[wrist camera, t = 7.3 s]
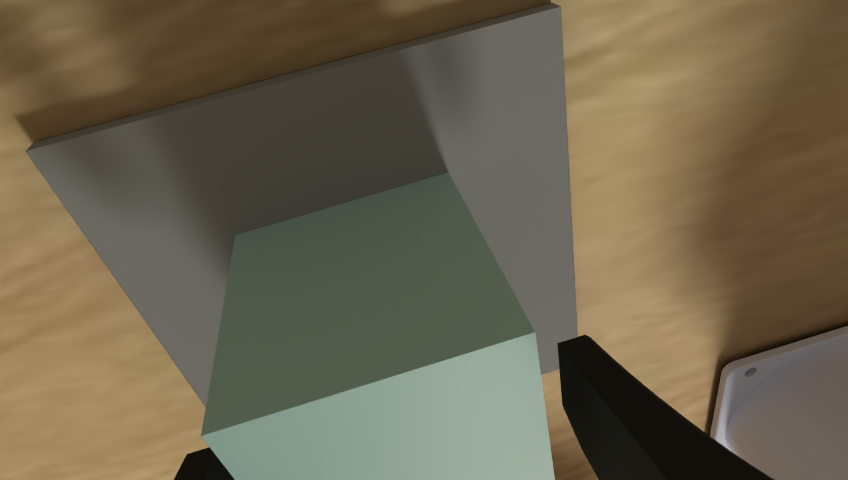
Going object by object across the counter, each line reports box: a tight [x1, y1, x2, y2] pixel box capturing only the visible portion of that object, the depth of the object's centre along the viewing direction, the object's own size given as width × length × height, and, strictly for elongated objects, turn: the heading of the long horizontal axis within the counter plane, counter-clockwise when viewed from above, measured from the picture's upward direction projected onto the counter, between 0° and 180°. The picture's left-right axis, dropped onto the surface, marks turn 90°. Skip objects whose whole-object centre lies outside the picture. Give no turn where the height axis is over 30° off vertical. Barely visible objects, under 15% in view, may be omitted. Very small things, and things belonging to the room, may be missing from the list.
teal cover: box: [201, 172, 555, 480], centre depth 13 cm, size 6×6×6 cm
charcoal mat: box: [26, 3, 578, 407], centre depth 15 cm, size 12×12×1 cm
